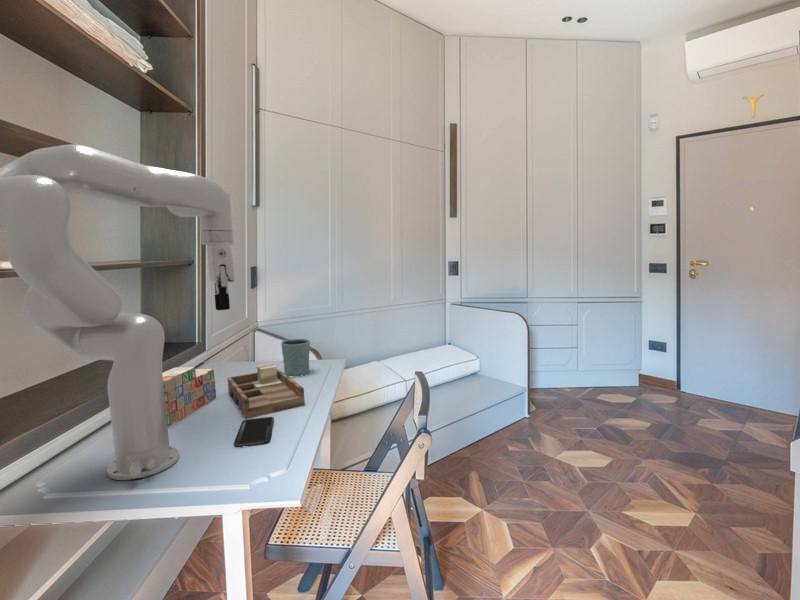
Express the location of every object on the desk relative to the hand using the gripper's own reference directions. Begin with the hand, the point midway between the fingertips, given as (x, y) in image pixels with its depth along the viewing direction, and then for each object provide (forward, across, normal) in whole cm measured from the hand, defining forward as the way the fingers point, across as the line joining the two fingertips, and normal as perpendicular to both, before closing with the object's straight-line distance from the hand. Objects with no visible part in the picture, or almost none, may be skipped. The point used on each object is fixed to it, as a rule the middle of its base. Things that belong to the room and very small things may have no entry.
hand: (222, 309), depth 109 cm
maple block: (+26, +18, -14) cm, 35 cm away
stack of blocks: (+29, +13, +10) cm, 34 cm away
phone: (+30, -15, -3) cm, 33 cm away
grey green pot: (+29, +30, -28) cm, 50 cm away
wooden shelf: (+29, +9, -11) cm, 32 cm away
